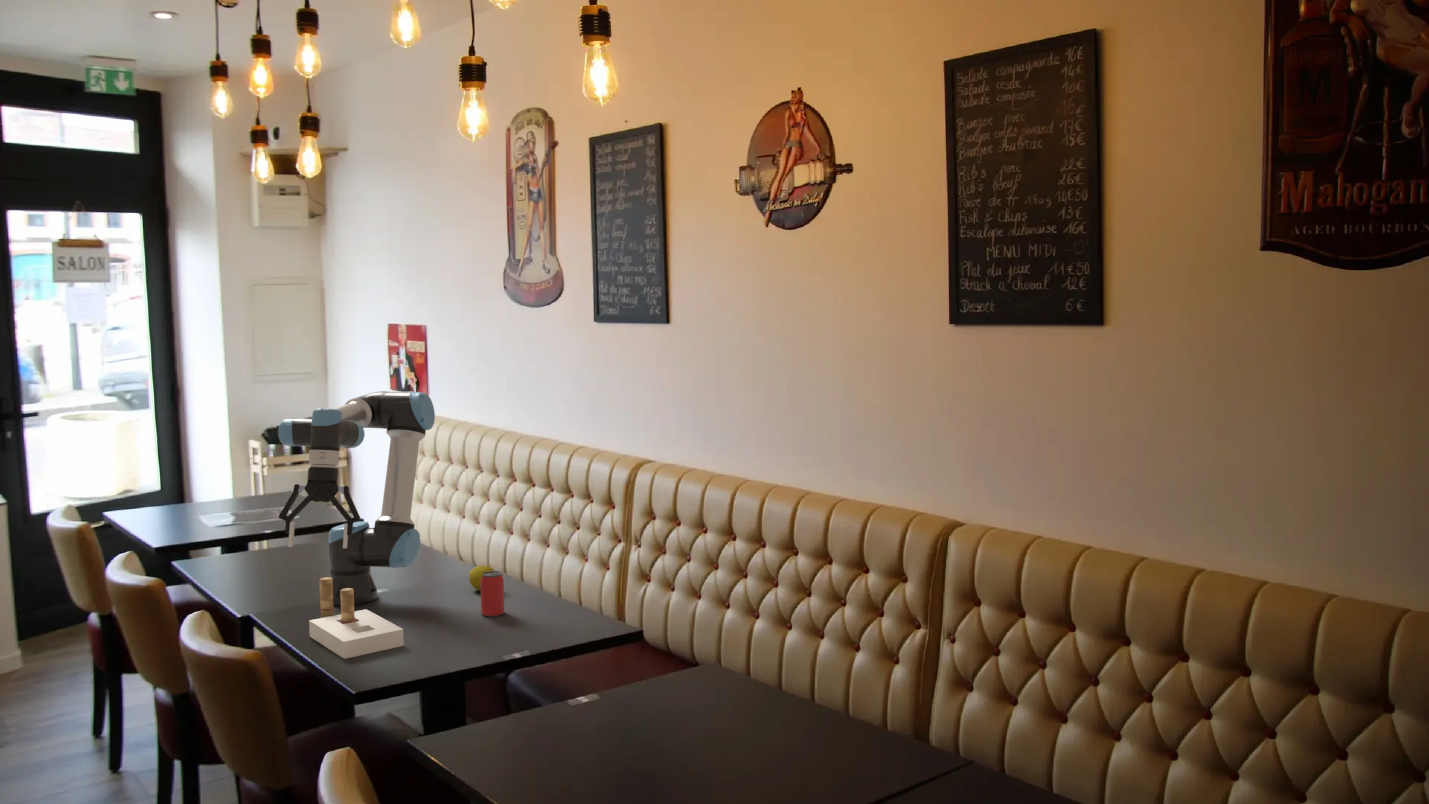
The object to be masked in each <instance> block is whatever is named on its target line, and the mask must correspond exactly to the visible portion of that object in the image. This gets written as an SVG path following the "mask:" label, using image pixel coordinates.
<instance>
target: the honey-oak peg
mask: <svg viewBox="0 0 1429 804" xmlns="http://www.w3.org/2000/svg"><path fill="white" fill-rule="evenodd" d="M319 602H320V603H319V604H320V605H319V606H320V608H319V611H320V618H324V617H329V616H334V615H335V614H334V612H335V611H334V610H335V609H334V608H335V607H334V606H335V605H333V584H332V578H330V576H329V577H322V578H319Z"/></svg>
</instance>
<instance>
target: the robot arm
mask: <svg viewBox="0 0 1429 804" xmlns="http://www.w3.org/2000/svg"><path fill="white" fill-rule="evenodd" d="M435 419H436V414H435V408H434V404H433V401H432V399H431V397H430V396H429V395H428V394H427V393H425V392H422V391H421V392H420V391H413V390H412V391H386V390H385V391H384V390H382V391H381V390H380V391H375V392H371V393H367V394H364V395H361V396H357V397H353V398H351V399H349V400H347V401H346V402H345V403H344V404H342V405H341V406H337V407H334V408H323V407H322V408H315V409H314V410H313V411H312V415H309V416H306V417H302V418H286V419H283V420H282V421H281V422H280V424H279V426H278V439H279V442H280V443H281V444H282V445H283V446H287V447H288V446H291V447H294V448H295V447H309V451H308V452H309V453H308V455H309V456H308V465H310V467H308V470H307V480H306V485H302V484H299V483H295V484H294V485H293V489H292V493H291V494H290V496H289V498H288V500H287V502H286V503H285V505H284V507H283V508H282V510H281V511H280V513H279V514H278V518H279V519H280V520H283V521H284V522H285V528H284V532H285V534H286V535H288V544H287V547H288V548H293V547H294V540H295V539H294V537H295V526H296V521H293V520H294V519H295V518H296V517H297V516H298V515H299V514H300V513H301V512H302V511H303V509H305V508H306V507H307V506H308V505H309V504H310V503H311V502H315V503H319V502H322V503H329V502H331V504H333V506H334V507H335V508H336V509H337V510H338V512H339V513H340V514H341V516H342V517H343V518H344V519H345V521H346V522H347V523H346V522H345V523H343V524H340V525H336V526H333V527H332V528H331V529H330V530H329V532H328V543H327V544H328V552H329V553H328V555H329V556H328V557H329V573H330V574H329V577H330V578H332V584H333V606H338V607H339V606H340V607H341V597H340V590H341V589H345V588H352V589H354V606H355V605H356V606H357V605H362V604H367V603H371V602H373V601H374V600H376V599H377V598H378V589H377V586H376V584H375V580H374V579H373V576H372V572H371V567H373V568H391V569H399V568H407V567H410V566H411V565H412V564H413V563H414V561H415V560H416V559H417V556H418V554H419V551H420V547H421V538H420V537H421V534H420V532H419V531H418V530H417V529H415V525H416V524H415V522H413V520H412V518H411V517H412V507H413V500H414V497H413V496H414V489H415V482H416V473H417V464H418V457H419V450H420V449H419V446H420V441H422V440H423V439H424V438H425V437H426V431H429V430H431V429H432V428H433V427H434V424H435V422H436V421H435ZM366 428H367V429H381V430H382V429H386V432H385V433H386V434H387V436H388V437H389V438H390V441H389V442H390V444H389V449H388V458H387V465H386V474H385V480H384V481H385V482H384V490H383V499H382V505H381V515H380V517H378V518H377V519H375V520H374V527H370V524H369V521H364V520H363V521H362V520H361V516H360V515H359V511H358V509H357V508H356V505H355V502H354V500H353V498H352V495H351V490H350V486H349V485H344V486H339V485H338V481H339V480H338V478H339V469H338V468H337V467H338V466H339V465H340V448H344V449H354V448H357V447H359V446H361V444H363V441H364V439H365V435H366V434H365V429H366ZM303 491H305V492H306V494H307V496H306V497H304V498H303V500H302V501H301V502H300V503H299V504H298V505H297V506H296V508H294V510H292V511H291V512H290V513H289V511H290V510H291V508H292V507H293V505H294V503H295V501H297V500H296V499H297V498H299V495H300V494H302V493H303ZM338 492H340V494H341V495H344V496H343V497H344V498H345V501H346V503H347V505H348V508H349V510H350V512H351V514H352V516H353V517H352V516H351V515H350V514H349V513H348V511H347V510H346V509H345V508H344V507H343V505H342V504H341V503H340V502H339V500H338V499H337V497H336V495H337V494H338ZM288 513H289V514H288ZM287 514H288V515H287Z"/></svg>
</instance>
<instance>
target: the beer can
mask: <svg viewBox="0 0 1429 804" xmlns="http://www.w3.org/2000/svg"><path fill="white" fill-rule="evenodd" d="M504 582H505V580H504V578H503V574H502V572H501V571H498V570H494V571H489V572H484V573H483V574H482V578H481V591H480V608H481V609H480V610H481V611H480V612H481V615H482V616H484V617H492V618H493V617H499V616H502V615H503V614H504V613H505V583H504Z"/></svg>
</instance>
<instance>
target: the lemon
mask: <svg viewBox="0 0 1429 804" xmlns="http://www.w3.org/2000/svg"><path fill="white" fill-rule="evenodd" d="M489 571H495V570H494V568H492V567H490V566H488V565H484V564H483V565H478V566H475V567H474V568H472V569H471V570H470V571H469V573H468V577H469V578H468V580H469V584H470V585H471V586H472V587H473V588H474V589H475V590H476V591H480V592H481V578H482V574H483V573H484V572H489Z"/></svg>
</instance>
